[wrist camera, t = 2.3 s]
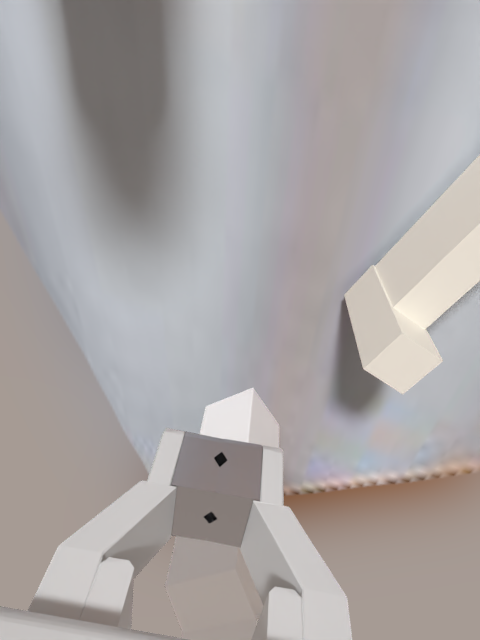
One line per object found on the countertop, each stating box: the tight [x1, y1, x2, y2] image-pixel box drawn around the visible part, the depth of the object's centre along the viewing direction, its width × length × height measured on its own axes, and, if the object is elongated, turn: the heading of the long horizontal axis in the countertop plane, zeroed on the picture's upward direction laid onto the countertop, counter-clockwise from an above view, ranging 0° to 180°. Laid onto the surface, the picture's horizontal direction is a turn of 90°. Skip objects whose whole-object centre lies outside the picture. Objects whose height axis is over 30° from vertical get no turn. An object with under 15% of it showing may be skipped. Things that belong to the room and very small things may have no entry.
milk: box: [165, 388, 279, 640], centre depth 37 cm, size 6×6×22 cm
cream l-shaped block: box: [344, 155, 480, 394], centre depth 29 cm, size 16×4×10 cm, turn 146°
